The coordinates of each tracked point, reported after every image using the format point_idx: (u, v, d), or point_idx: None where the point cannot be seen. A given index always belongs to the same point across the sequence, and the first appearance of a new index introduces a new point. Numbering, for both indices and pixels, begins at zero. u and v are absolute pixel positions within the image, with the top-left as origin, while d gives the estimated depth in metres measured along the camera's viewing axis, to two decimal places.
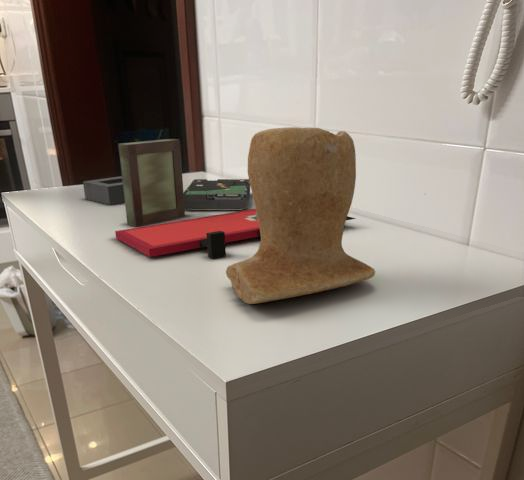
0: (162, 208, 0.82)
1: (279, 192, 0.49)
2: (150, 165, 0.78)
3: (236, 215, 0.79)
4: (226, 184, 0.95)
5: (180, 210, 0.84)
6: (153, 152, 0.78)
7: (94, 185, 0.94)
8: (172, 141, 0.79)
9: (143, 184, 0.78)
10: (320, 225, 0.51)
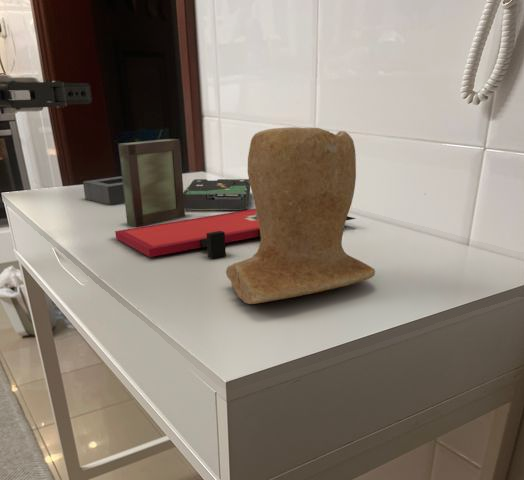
0: (162, 208, 0.82)
1: (279, 192, 0.49)
2: (150, 165, 0.78)
3: (236, 215, 0.79)
4: (226, 184, 0.95)
5: (180, 210, 0.84)
6: (153, 152, 0.78)
7: (94, 185, 0.94)
8: (172, 141, 0.79)
9: (143, 184, 0.78)
10: (320, 225, 0.51)
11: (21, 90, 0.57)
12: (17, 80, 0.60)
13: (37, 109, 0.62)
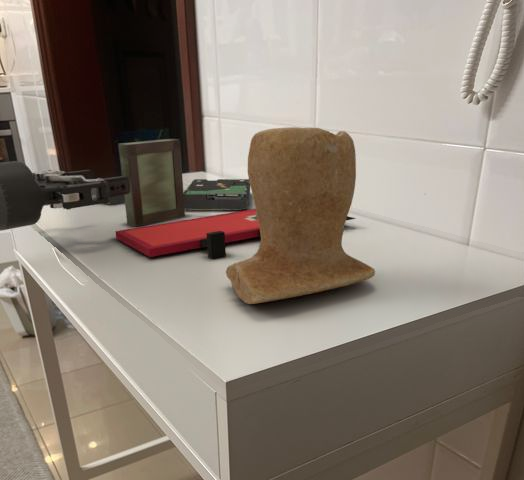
0: (162, 208, 0.82)
1: (279, 192, 0.49)
2: (150, 165, 0.78)
3: (236, 215, 0.79)
4: (226, 184, 0.95)
5: (180, 210, 0.84)
6: (153, 152, 0.78)
7: None
8: (172, 141, 0.79)
9: (143, 184, 0.78)
10: (320, 225, 0.51)
11: (72, 193, 0.65)
12: (66, 179, 0.68)
13: None
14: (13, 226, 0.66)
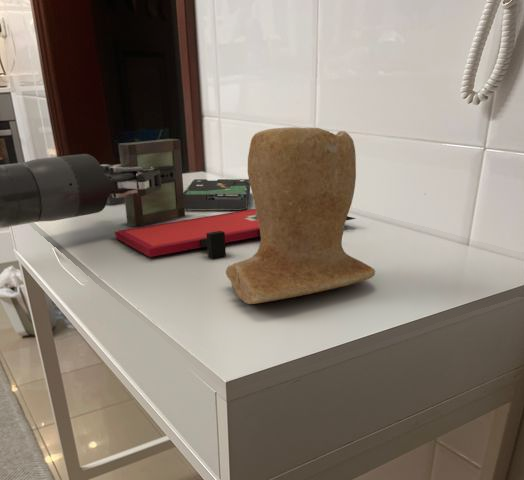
0: (162, 208, 0.82)
1: (279, 192, 0.49)
2: (150, 165, 0.78)
3: (236, 215, 0.79)
4: (226, 184, 0.95)
5: (180, 210, 0.84)
6: (153, 152, 0.78)
7: None
8: (172, 141, 0.79)
9: None
10: (320, 225, 0.51)
11: (146, 181, 0.72)
12: (129, 170, 0.75)
13: None
14: (82, 213, 0.72)
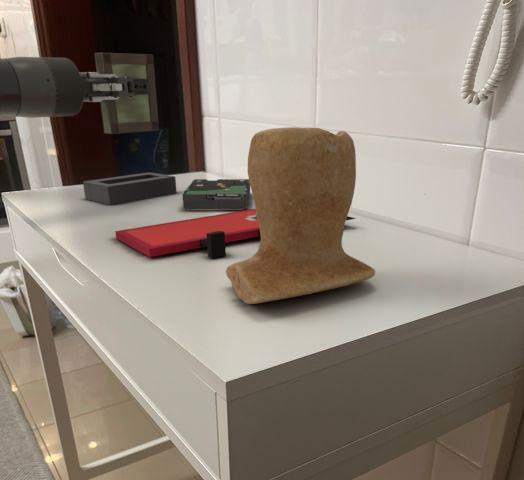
0: (137, 119, 0.88)
1: (279, 192, 0.49)
2: (125, 75, 0.84)
3: (236, 215, 0.79)
4: (226, 184, 0.95)
5: (154, 123, 0.90)
6: (127, 63, 0.84)
7: (94, 185, 0.94)
8: (145, 55, 0.86)
9: None
10: (320, 225, 0.51)
11: (119, 83, 0.79)
12: (104, 76, 0.81)
13: (116, 98, 0.83)
14: (59, 112, 0.78)
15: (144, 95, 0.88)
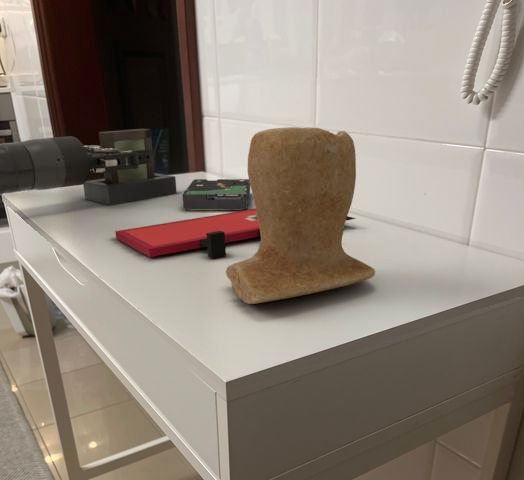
0: None
1: (279, 192, 0.49)
2: (126, 149, 0.95)
3: (236, 215, 0.79)
4: (226, 184, 0.95)
5: None
6: (128, 139, 0.95)
7: (94, 185, 0.94)
8: (144, 130, 0.97)
9: None
10: (320, 225, 0.51)
11: (112, 160, 0.88)
12: (106, 150, 0.91)
13: None
14: (68, 184, 0.89)
15: (143, 164, 0.99)
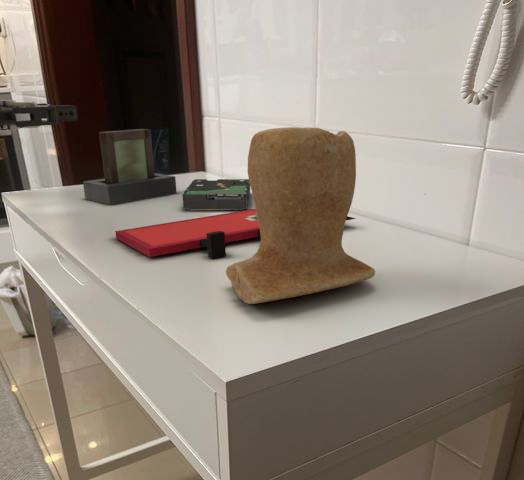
0: None
1: (279, 192, 0.49)
2: (126, 149, 0.95)
3: (236, 215, 0.79)
4: (226, 184, 0.95)
5: None
6: (128, 139, 0.95)
7: (94, 185, 0.94)
8: (144, 130, 0.97)
9: (120, 166, 0.96)
10: (320, 225, 0.51)
11: (23, 113, 0.76)
12: (20, 104, 0.79)
13: (35, 126, 0.81)
14: None
15: (143, 164, 0.99)
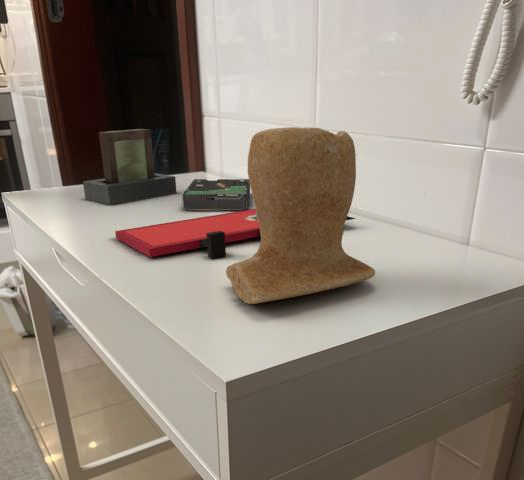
0: None
1: (279, 192, 0.49)
2: (126, 149, 0.95)
3: (236, 215, 0.79)
4: (226, 184, 0.95)
5: None
6: (128, 139, 0.95)
7: (94, 185, 0.94)
8: (144, 130, 0.97)
9: (120, 166, 0.96)
10: (320, 225, 0.51)
11: None
12: None
13: None
14: None
15: (143, 164, 0.99)
